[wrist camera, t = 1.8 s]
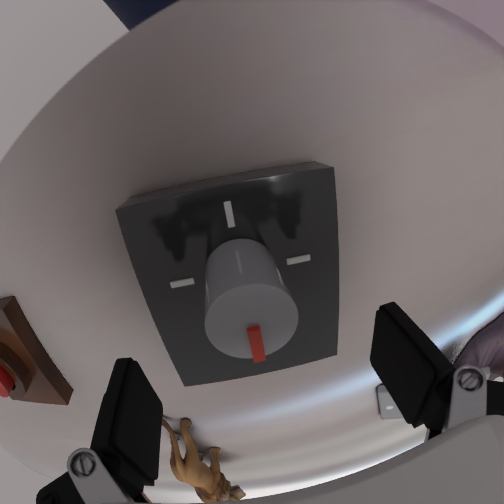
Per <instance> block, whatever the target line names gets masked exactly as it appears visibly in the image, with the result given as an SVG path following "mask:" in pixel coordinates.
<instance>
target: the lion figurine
mask: <svg viewBox="0 0 504 504" xmlns="http://www.w3.org/2000/svg"><path fill="white" fill-rule="evenodd" d="M162 425H163V426H164V427H165V428H166V429H167V430H168V432H169V433H170V438H171V445H172V451H171V459H170V465H171V469H172V472H173V474H174V475H175V477H176V478H177V479H178V480H179V481H181V482H186V483H188V484H190V485H191V486H193V487H194V488H195V490H196V493H197V495H198V496H199V497H200V499H201V500H202V501H203V502H205V503H214V502H226V501H236V500H240V499H241V498H243V497H244V496H245V495H246V493H244V492H243V490H242V489H240V486H239V485H235V486H232V487H231V485H230V481H228V480H226V478H225V476H224V474H223V473H221V472H220V465H219V462H218V460H217V456H216V454H217V453H219V452H220V448H210V449H209V456H210V459H211V466H210V467H208V466H207V465H206V464H205V463H203V462H202V460H203V457H204V454H203V453H200V452H198V451H197V448H196V445H195V443H194V441H193V439H192V438H191V436H190V433H189V431H188V428H189V427H190V426H191V421H190V420H188V419H185V420H182V421H181V422H180V427H181V433H182V436H183V438H184V440H185V443H186V454H185V458H184V459H182V457H181V454H180V451H179V446H178V442H177V440H179V439H180V436H179V435H178V434H174V431H173V430H172V428H171V427H170V425H169V424H168V423H167V421H166V420H165V419H162Z"/></svg>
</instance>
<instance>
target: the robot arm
mask: <svg viewBox="0 0 504 504" xmlns="http://www.w3.org/2000/svg"><path fill="white" fill-rule="evenodd" d="M370 362H371V365H372V367H373V368H374V370H375V371H376V373H377V375H378V376H379V378H380V379H381V381H382V383H383V384H384V386H385V388H386V389H387V391H388V392H389V394H390V396H391V397H392V399H393V401H394V402H395V404H396V406H397V407H398V409H399V411H400V412H401V414H402V416H403V417H404V419H405V421H406V422H407V423H408V424H412V426H413V427H414V428H416V427H418V426H420V425H422V424H425V426H426V428H427V432H426V437H425V441H424V443H422V444H420V445H418V446H416V447H414V448H412V449H410V450H408V451H406V452H404V453H402V454H399V455H397V456H395V457H393V458H391V459H388V460H386V461H384V462H381V463H379V464H377V465H374V466H372V467H369V468H367V469H364V470H361V471H359V472H356V473H353V474H350V475H347V476H344V477H341V478H338V479H335V480H332V481H329V482H325V483H322V484H318V485H315V486H311V487H307V488H303V489H299V490H295V491H290V492H286V493H281V494H276V495H270V496H265V497H258V498H252V499H244V500H236V501H226V502H214V503H191V504H504V382H498V381H491V380H486V375H485V374H484V372H483V371H482V370H481V369H480V368H479V367H477V366H474V365H463V366H460V367H459V368H458V369H456V368H455V367H454V366H453V365H452V364H451V362H450V361H449V360H448V359H447V358H446V357H445V356H444V354H443V353H442V352H441V351H440V350H439V349H438V348H437V346H436V345H435V344H434V343H433V342H432V341H431V340H430V339H429V338H428V336H427V335H426V334H425V333H424V332H423V331H422V330H421V329H420V328H419V327H418V326H417V325H416V324H415V323H414V322H413V321H412V320H411V319H410V317H409V316H408V315H407V314H406V313H405V312H404V311H403V310H402V309H401V308H400V307H399V306H398V305H397V304H396V303H395V302H390V303H387V304H384V305H381V306H380V307H379V310H377V311H376V317H375V325H374V333H373V341H372V348H371V354H370ZM162 415H163V406H162V403H161V401H160V399H159V398H158V396H157V394H156V393H155V391H154V389H153V388H152V386H151V384H150V383H149V381H148V379H147V378H146V376H145V374H144V372H143V371H142V369H141V367H140V365H139V364H138V362H137V361H134V360H133V359H132V358H120V359H117V360H116V362H115V365H114V368H113V371H112V374H111V377H110V381H109V384H108V387H107V391H106V393H105V394H104V396H103V400H102V403H101V407H100V411H99V414H98V418H97V422H96V426H95V430H94V434H93V438H92V442H91V446H90V449H89V448H80V449H77V450H75V451H74V452H73V453H71V455H70V456H69V458H68V461H67V469H68V471H67V472H66V473H64V474H63V475H62V476H60V477H59V478H57V479H56V480H54V481H53V482H51V483H50V484H48V485H47V486H45V487H43V488H42V489H41V490H40V491H39V492H38V494H37V497H36V504H159V503H152V502H151V501H150V500H149V499H148V498H147V496H146V495H145V494H144V493H143V488H144V485H145V486H154V480H157V478H158V470H159V452H160V438H161V426H162Z"/></svg>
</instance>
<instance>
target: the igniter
mask: <svg viewBox="0 0 504 504" xmlns="http://www.w3.org/2000/svg"><path fill="white" fill-rule="evenodd" d="M0 366H1V367H3V368H4V369H5V370H6V371H7V372H8V373H9V375H10V376H11V377H12V379H13V380H14V386H13V388H12V390H11V392H10V394H9V396H10V398H11V399H13V400H20V401H28V402H36V403H46V404H59V405H68V404H69V401H70V398H71V395H72V392H73V389H72V388H71V387H70V385H69V384H68V383H67V381H66V380H65V379H64V377H63V376H62V375H61V373H60V372H59V370H58V369H57V368H56V366H55V365H54V363H53V362H52V360H51V359H50V357H49V356H48V354H47V353H46V351H45V350H44V348H43V347H42V345H41V343H40V342H39V340H38V339H37V337H36V335H35V334H34V332H33V330H32V328H31V327H30V325H29V323H28V321H27V320H26V318H25V316H24V314H23V312H22V310H21V309H20V307H19V305H18V303H17V301H16V299H15V297H14V296H12V297H7V298H2V299H0Z"/></svg>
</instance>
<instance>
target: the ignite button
mask: <svg viewBox="0 0 504 504" xmlns="http://www.w3.org/2000/svg"><path fill="white" fill-rule="evenodd" d="M13 386H14V380H13V379H12V377H11V376H10V375H9V373H8V372H7V371H6V370H5V369H4V368H3V367H1V366H0V396H2V397H8V396H9V394H10V392H11V390H12V388H13Z"/></svg>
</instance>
